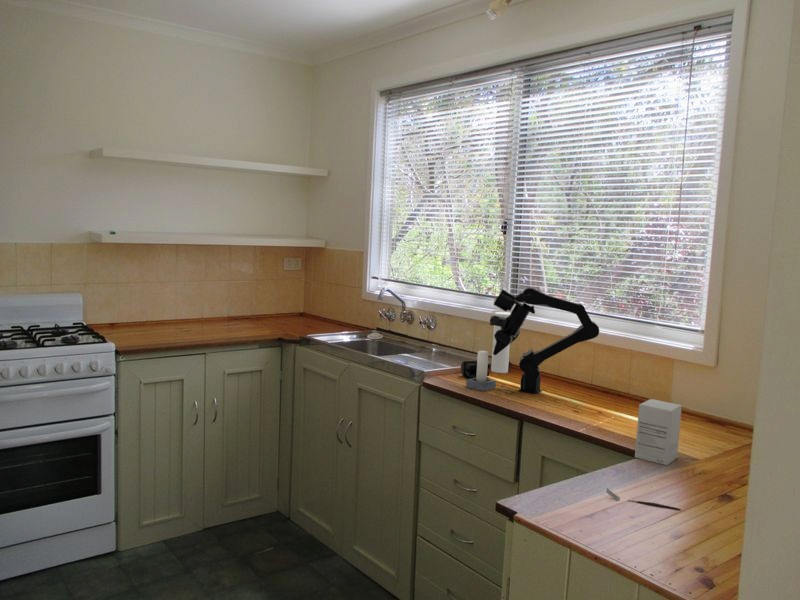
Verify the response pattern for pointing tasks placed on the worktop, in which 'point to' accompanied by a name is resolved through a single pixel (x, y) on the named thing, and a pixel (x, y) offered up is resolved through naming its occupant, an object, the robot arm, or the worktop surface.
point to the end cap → (470, 369)
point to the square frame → (481, 384)
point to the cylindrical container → (502, 357)
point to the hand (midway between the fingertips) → (496, 352)
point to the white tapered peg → (482, 366)
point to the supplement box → (658, 431)
